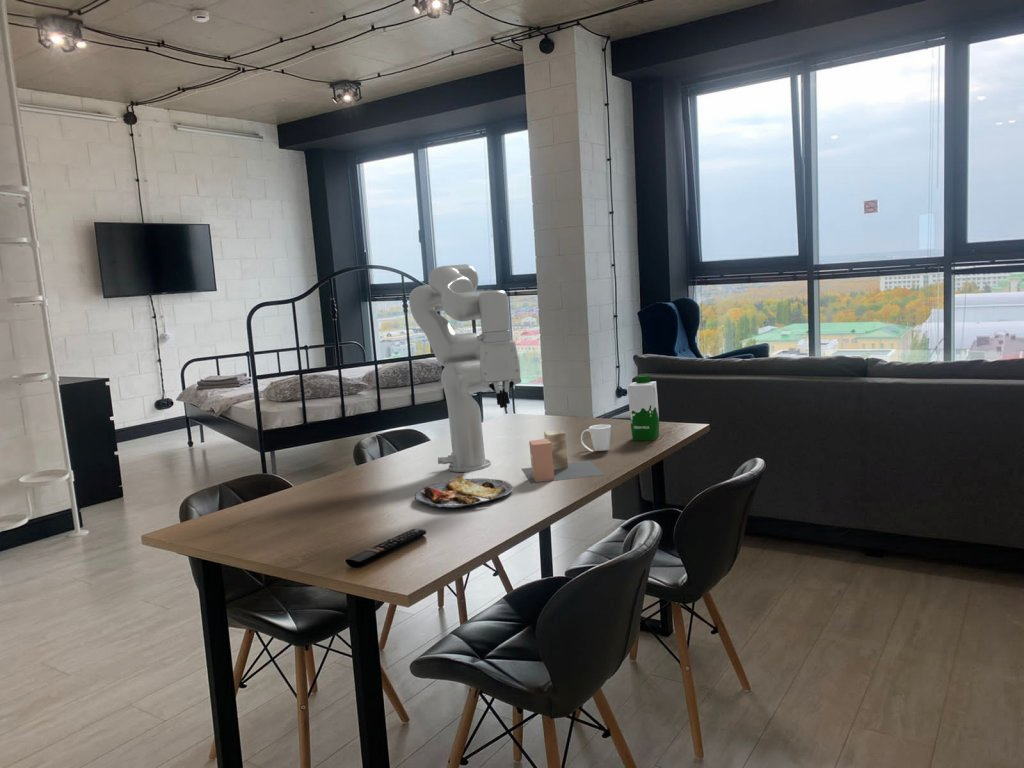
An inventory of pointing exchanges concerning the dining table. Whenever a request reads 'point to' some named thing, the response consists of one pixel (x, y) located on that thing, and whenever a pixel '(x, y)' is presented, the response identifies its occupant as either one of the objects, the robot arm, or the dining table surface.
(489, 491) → the food plate
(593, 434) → the cup
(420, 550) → the dining table surface
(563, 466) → the beech block
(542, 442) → the terracotta block
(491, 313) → the robot arm
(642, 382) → the milk carton
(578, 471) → the rubber mat
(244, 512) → the dining table surface
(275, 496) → the dining table surface
